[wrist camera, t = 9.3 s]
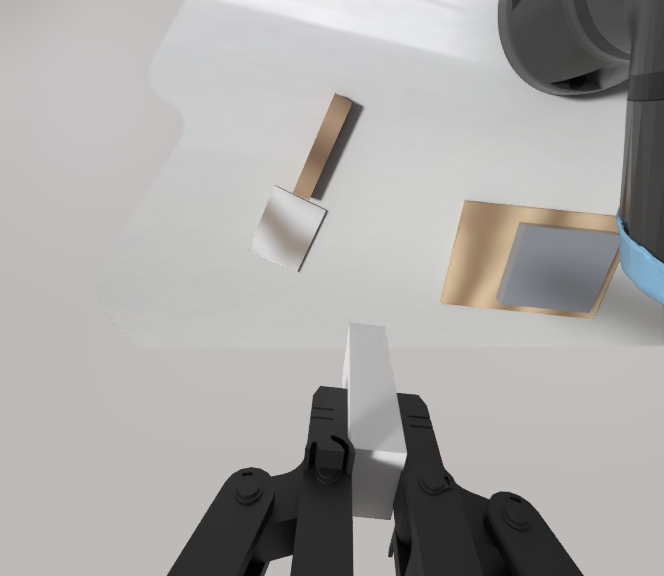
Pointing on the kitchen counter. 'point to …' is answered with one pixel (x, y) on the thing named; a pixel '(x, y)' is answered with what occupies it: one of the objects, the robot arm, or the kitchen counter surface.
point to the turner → (299, 200)
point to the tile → (557, 267)
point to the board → (506, 252)
